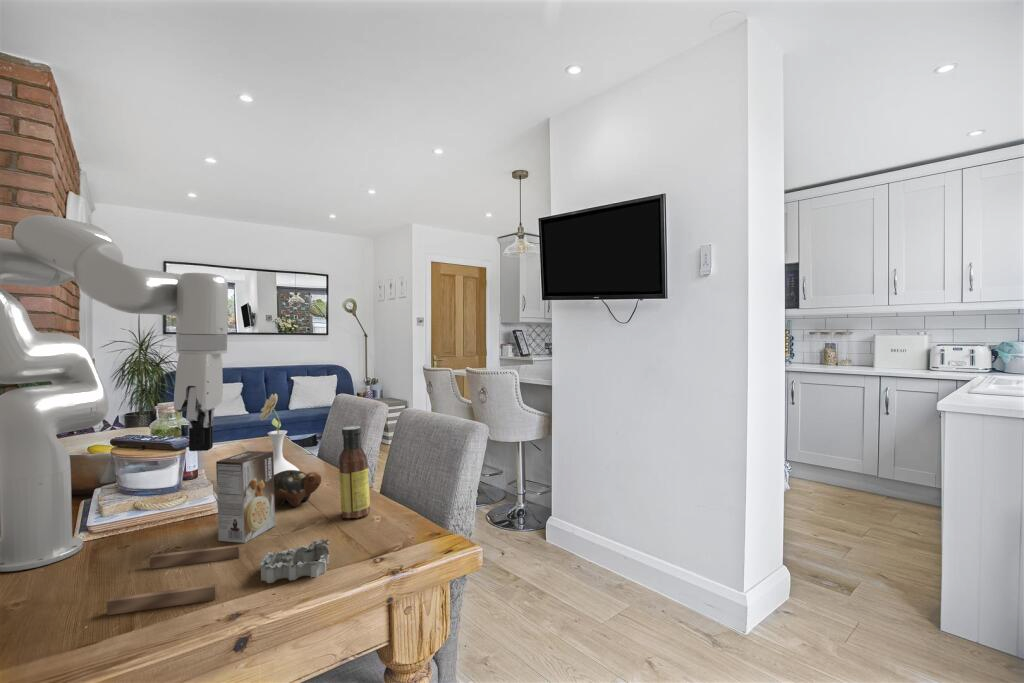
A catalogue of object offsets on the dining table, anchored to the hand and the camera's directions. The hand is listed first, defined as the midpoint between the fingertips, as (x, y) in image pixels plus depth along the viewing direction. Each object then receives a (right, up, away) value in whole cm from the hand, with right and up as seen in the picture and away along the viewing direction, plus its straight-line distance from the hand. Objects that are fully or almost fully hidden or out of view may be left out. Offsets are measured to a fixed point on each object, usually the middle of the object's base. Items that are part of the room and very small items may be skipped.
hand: (200, 449), depth 87 cm
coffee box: (0, -21, +15) cm, 26 cm away
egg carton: (+17, -21, -1) cm, 27 cm away
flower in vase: (-11, -20, +51) cm, 56 cm away
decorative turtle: (+1, -21, +33) cm, 39 cm away
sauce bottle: (+19, -21, +25) cm, 38 cm away
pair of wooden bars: (0, -21, -4) cm, 21 cm away
